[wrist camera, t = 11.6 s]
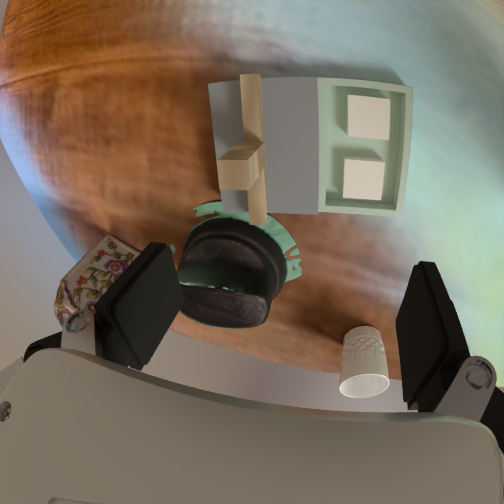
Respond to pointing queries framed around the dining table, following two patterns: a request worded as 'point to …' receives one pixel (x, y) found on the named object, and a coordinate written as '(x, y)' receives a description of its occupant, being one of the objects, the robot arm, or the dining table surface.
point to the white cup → (363, 363)
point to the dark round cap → (233, 268)
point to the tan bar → (248, 153)
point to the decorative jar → (92, 276)
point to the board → (274, 141)
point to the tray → (362, 145)
